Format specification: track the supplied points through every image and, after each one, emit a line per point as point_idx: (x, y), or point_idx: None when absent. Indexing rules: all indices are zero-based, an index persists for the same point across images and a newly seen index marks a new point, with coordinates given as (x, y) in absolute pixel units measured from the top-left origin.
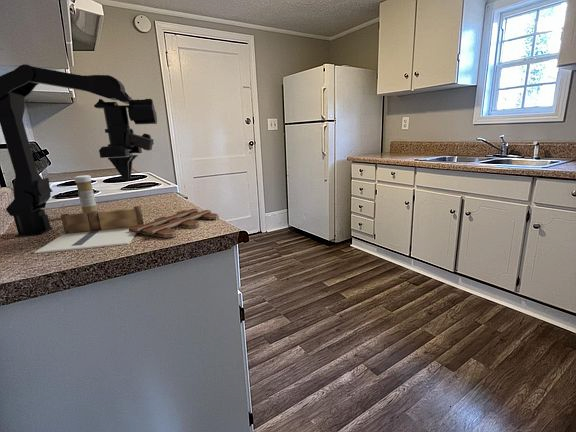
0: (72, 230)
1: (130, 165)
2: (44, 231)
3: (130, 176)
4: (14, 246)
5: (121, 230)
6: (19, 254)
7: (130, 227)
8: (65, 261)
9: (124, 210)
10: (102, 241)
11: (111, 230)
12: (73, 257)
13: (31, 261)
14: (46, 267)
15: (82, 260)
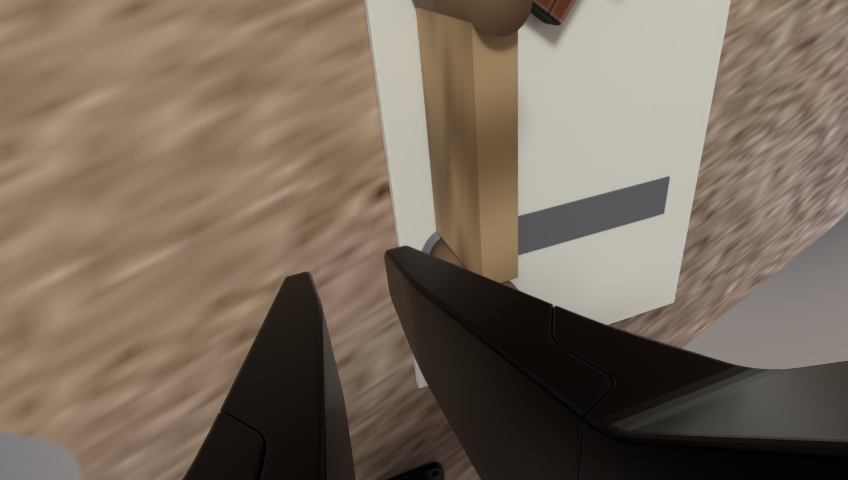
0: None
1: (331, 442)
2: (410, 474)
3: (305, 292)
4: None
5: None
6: None
7: (565, 9)
8: (797, 131)
9: (515, 106)
10: (662, 100)
11: None
12: (773, 126)
13: (737, 253)
14: (816, 162)
15: (822, 67)
